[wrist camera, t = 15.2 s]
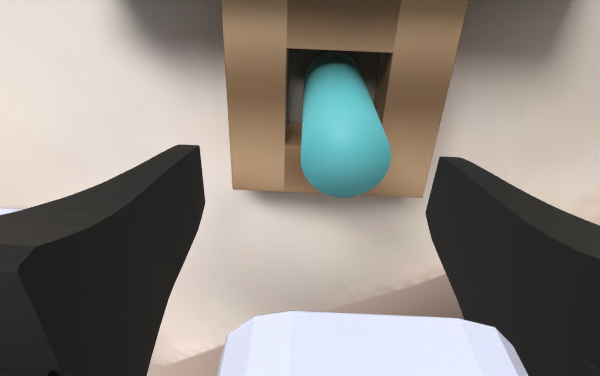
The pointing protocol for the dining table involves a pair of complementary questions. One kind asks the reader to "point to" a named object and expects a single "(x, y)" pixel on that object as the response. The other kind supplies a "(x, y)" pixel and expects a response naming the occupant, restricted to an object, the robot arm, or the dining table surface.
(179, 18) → the dining table surface
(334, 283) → the dining table surface
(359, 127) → the dowel
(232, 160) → the wooden square frame
